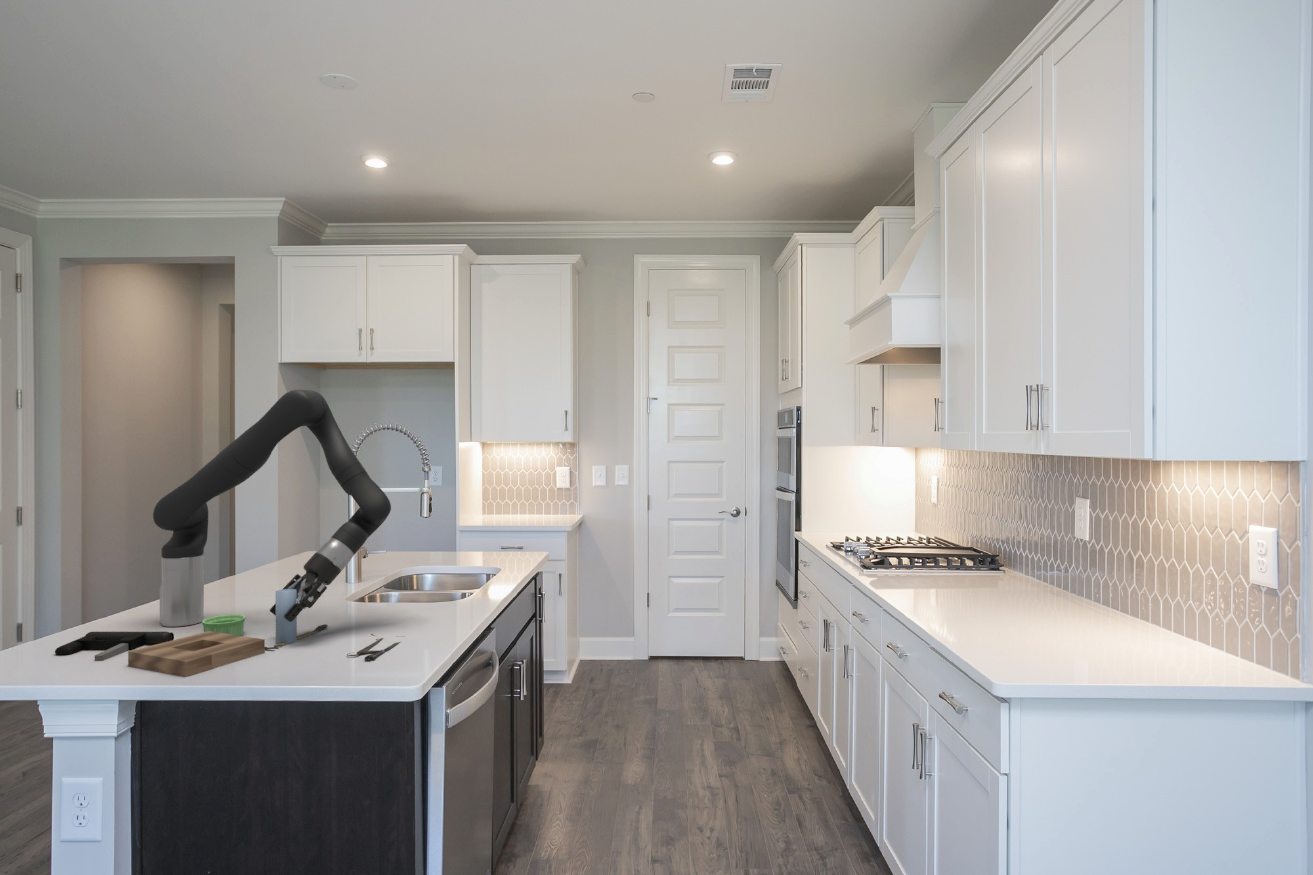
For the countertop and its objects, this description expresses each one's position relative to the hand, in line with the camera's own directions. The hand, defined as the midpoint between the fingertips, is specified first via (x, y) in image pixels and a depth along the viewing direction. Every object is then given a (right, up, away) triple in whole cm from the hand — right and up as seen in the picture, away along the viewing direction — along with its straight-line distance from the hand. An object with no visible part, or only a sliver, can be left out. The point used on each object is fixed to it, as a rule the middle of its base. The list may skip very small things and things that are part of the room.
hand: (279, 616), depth 175 cm
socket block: (-11, -6, -12) cm, 18 cm away
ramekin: (-16, -7, +6) cm, 19 cm away
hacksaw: (+23, -7, -2) cm, 24 cm away
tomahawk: (+4, -7, +4) cm, 9 cm away
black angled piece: (-35, -7, -5) cm, 36 cm away
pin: (+1, -6, +1) cm, 6 cm away
